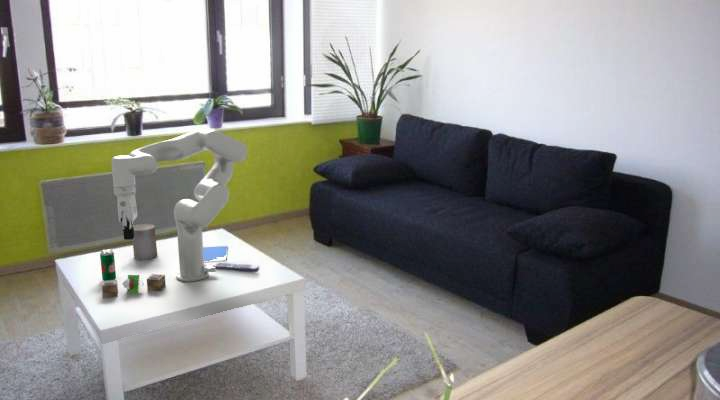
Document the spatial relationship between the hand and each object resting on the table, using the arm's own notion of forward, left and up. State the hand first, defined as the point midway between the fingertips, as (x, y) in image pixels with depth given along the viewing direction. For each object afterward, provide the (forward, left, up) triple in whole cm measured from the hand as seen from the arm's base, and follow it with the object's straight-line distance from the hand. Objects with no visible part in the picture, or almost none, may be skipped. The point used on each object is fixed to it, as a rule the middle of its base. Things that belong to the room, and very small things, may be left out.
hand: (129, 238), depth 236 cm
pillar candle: (+3, -41, -21) cm, 46 cm away
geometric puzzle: (0, 0, -21) cm, 21 cm away
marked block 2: (-8, -2, -21) cm, 23 cm away
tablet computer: (-26, -40, -22) cm, 52 cm away
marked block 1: (+8, +2, -21) cm, 23 cm away
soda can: (+12, -14, -21) cm, 28 cm away
